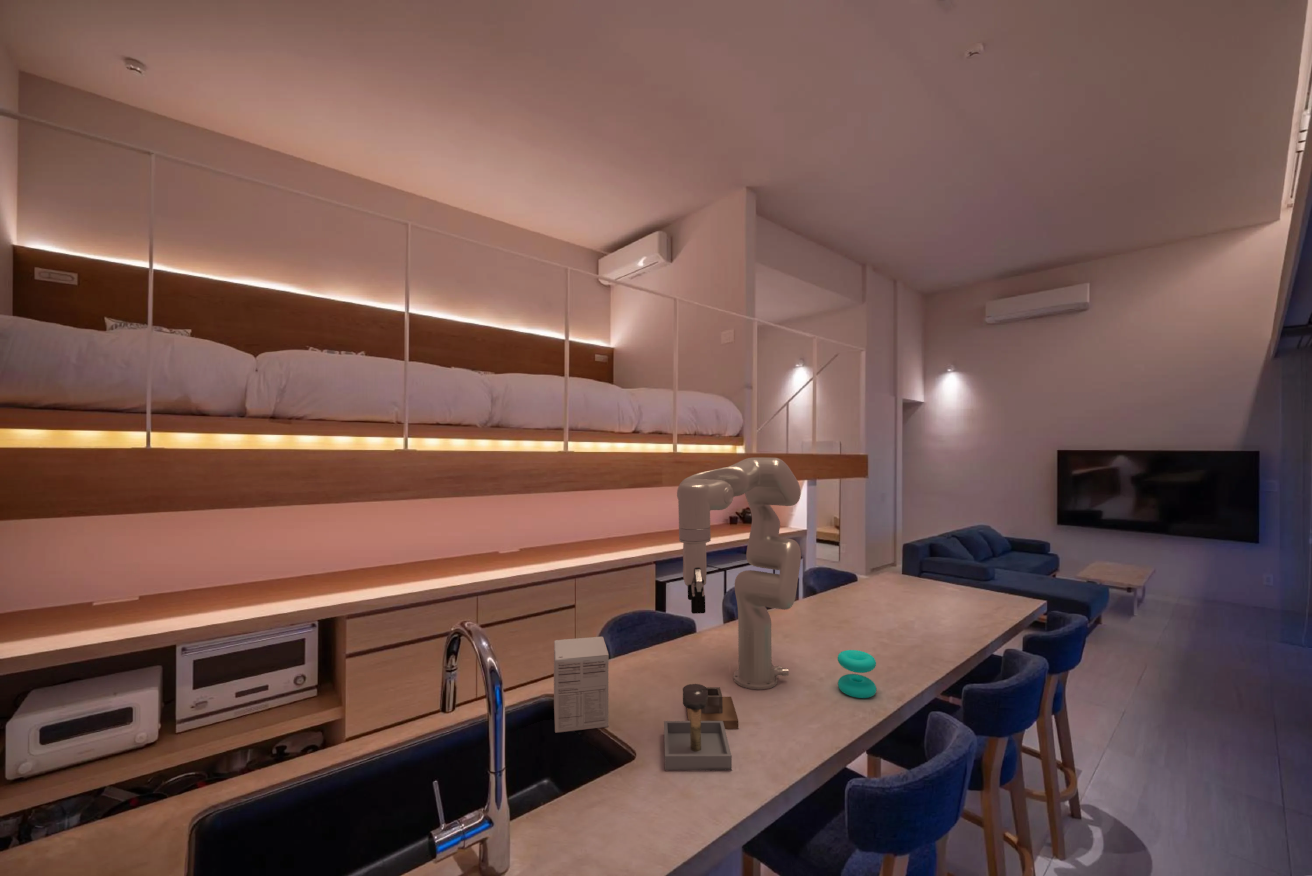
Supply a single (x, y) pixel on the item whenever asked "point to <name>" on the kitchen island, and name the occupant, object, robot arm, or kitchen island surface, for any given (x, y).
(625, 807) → the kitchen island surface
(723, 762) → the tray
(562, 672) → the supplement box
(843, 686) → the donuts
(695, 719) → the tan peg with head
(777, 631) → the kitchen island surface
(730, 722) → the eye block
